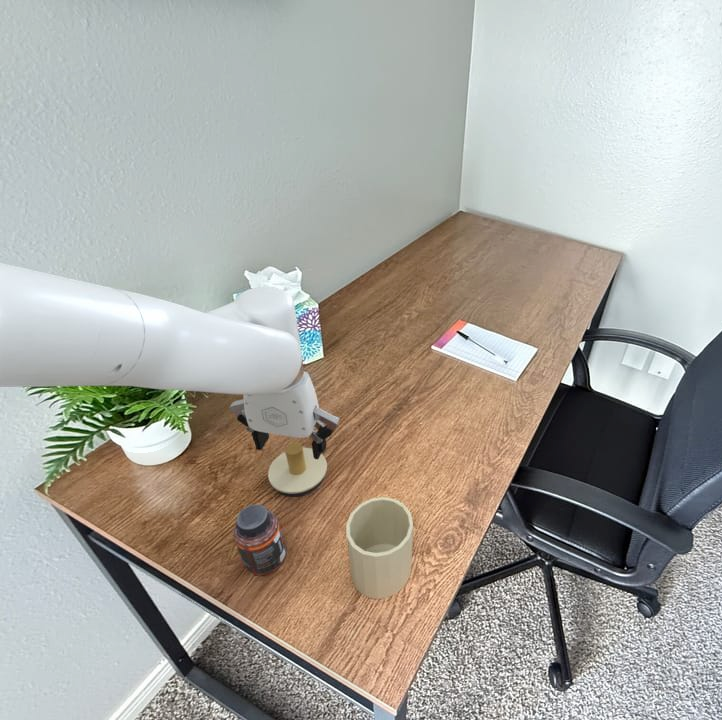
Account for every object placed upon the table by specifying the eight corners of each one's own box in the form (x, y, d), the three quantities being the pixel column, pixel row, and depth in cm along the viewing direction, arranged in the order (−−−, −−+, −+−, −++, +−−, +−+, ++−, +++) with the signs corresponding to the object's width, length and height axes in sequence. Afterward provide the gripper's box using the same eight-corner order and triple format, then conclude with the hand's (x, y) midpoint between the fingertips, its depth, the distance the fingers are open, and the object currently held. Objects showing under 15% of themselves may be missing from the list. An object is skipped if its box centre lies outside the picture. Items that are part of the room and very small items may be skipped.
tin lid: (266, 499, 78) (259, 475, 74) (271, 454, 85) (265, 430, 81) (327, 491, 81) (323, 467, 76) (327, 448, 88) (324, 424, 84)
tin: (352, 604, 67) (347, 561, 60) (350, 547, 74) (345, 501, 66) (414, 592, 70) (416, 549, 62) (407, 538, 76) (408, 493, 69)
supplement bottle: (295, 554, 72) (284, 512, 65) (262, 585, 68) (247, 544, 61) (269, 533, 74) (256, 490, 67) (236, 562, 70) (218, 520, 63)
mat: (269, 500, 79) (268, 497, 78) (274, 459, 86) (273, 456, 85) (325, 493, 81) (324, 490, 81) (325, 453, 88) (325, 450, 87)
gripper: (203, 376, 65) (229, 457, 75) (324, 395, 65) (333, 474, 75) (231, 345, 71) (251, 424, 81) (343, 363, 71) (349, 440, 81)
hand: (291, 448), depth 78 cm, fingers open, 9 cm apart
